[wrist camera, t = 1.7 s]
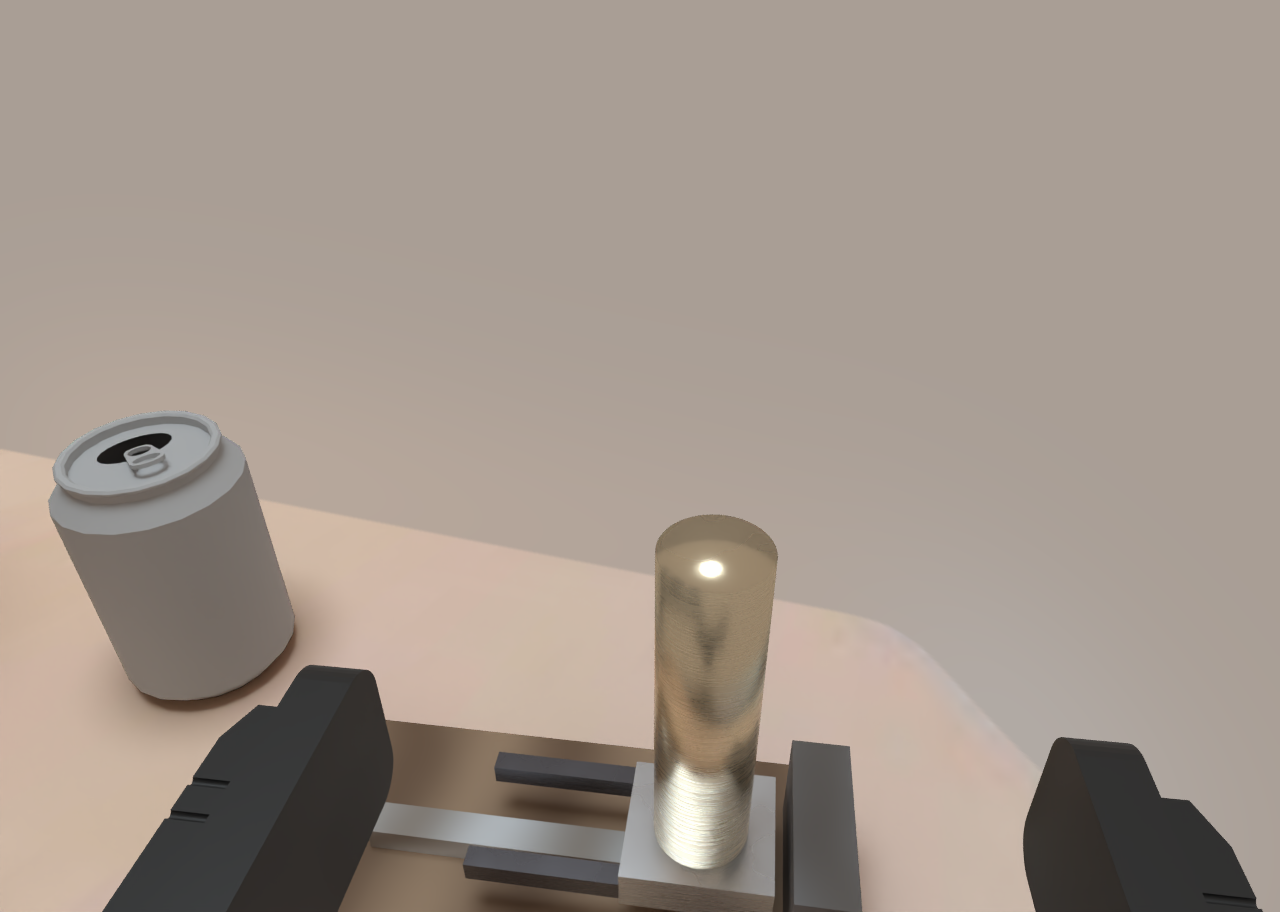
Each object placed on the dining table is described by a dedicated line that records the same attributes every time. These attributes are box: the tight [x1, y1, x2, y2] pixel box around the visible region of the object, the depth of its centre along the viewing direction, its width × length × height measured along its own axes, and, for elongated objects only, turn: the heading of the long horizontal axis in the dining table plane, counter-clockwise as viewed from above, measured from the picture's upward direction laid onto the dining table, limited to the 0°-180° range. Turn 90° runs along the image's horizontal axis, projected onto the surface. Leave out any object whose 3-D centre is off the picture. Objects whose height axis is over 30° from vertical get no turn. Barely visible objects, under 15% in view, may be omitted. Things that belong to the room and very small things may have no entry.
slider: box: [463, 515, 778, 912], centre depth 27 cm, size 10×4×14 cm, turn 82°
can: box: [48, 411, 295, 700], centre depth 39 cm, size 8×8×12 cm
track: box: [338, 720, 862, 912], centre depth 31 cm, size 23×10×6 cm, turn 82°
